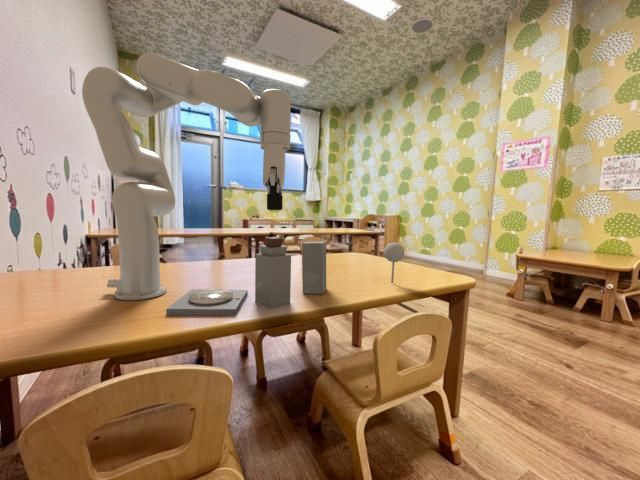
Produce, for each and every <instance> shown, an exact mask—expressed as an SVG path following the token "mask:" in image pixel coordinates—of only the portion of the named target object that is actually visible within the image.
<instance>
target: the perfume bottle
mask: <svg viewBox="0 0 640 480" xmlns="http://www.w3.org/2000/svg"><path fill="white" fill-rule="evenodd" d="M264 240H265V245H259V250H260V251H259V252H260V253H255V255H254V256H255V264H254V265H255V266H254V267H255V270H254V274H255V278H254V283H255V284H254V289H255V291H254V300H255V301H254V303H255V304H257V305H259V306H262V307H263V308H264V307H265V308H266V309H269V310H273V309H276V308H279V307H284V306H287V305H289V304H291V287H292V286H291V282H292V281H291V279H292V278H291V276H292V275H291V274H292V254H289V253H287V251H288V248H289V247H288V246H287V245H282V243H283V237H279V236H278V237H277V236H271V237H270V236H269V237H266V236H265V237H264Z"/></svg>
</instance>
